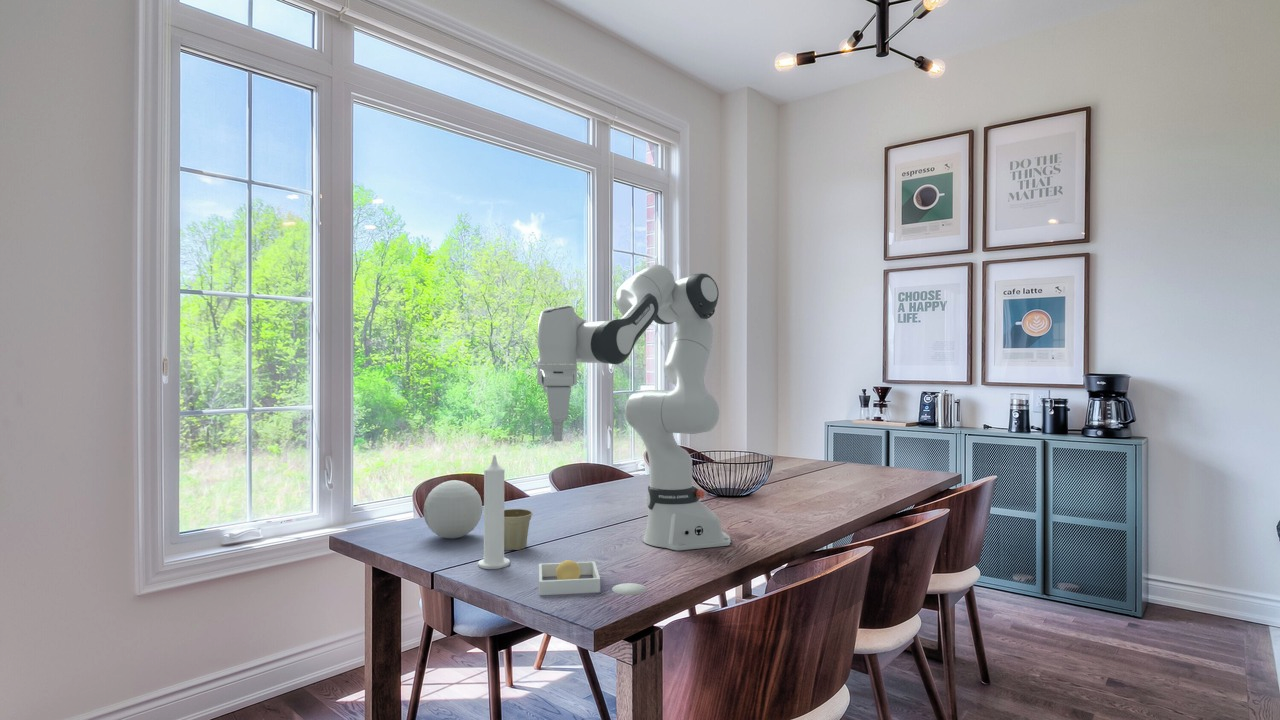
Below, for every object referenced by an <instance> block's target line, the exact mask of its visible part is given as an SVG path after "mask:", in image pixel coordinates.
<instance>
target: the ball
mask: <svg viewBox="0 0 1280 720" xmlns="http://www.w3.org/2000/svg"><path fill="white" fill-rule="evenodd" d="M576 562H577V561H575V560H572V559H565V560H563V561H561V562H559V563H560V564H559V566H558V567H557V570H556V576H555V577H556V580H566V579H580V577H581V575H580V573H581V572H580V567H579V565H578V564H577V563H576Z"/></svg>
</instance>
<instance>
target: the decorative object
mask: <svg viewBox="0 0 1280 720" xmlns="http://www.w3.org/2000/svg"><path fill="white" fill-rule="evenodd" d="M482 513H483V501H482V499H481V495H480V494H479V492H478V491H477V489H475V487H474V486H472V485H471V484H469V483H468V482H465V481H462V480H456V479H454V480H453V479H452V480H447V481H443V482H442V483H439V484H438V485H436V486H435V487H434V488H432V490H430V492H429V493H428V495H427V497H426V498H425V501H424V504H423V518H424V522H425V524H426V526H427V527H428V529H429V530H431V532H432V533H434V534H435V535H437V536H438V537H441V538H444V539H457V538H462V537H464V536H466V535H468V534H469V533H471V532H472V531H473V530H474V529H475V528H476V527H477V525H478V524H479V522H480V520H481V517H482V515H483V514H482Z"/></svg>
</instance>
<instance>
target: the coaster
mask: <svg viewBox="0 0 1280 720" xmlns="http://www.w3.org/2000/svg"><path fill="white" fill-rule="evenodd" d="M611 591H612V592H614V593H615V594H618V595H622V596H623V595H624V596H625V595H626V596H634V595H641V594H643V593H646V592H647V587H646V585H643V584H640V583H635V582H627V583H626V582H623V583H619V584H615V585H614V586H613V587H612V588H611Z"/></svg>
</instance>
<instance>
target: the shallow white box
mask: <svg viewBox="0 0 1280 720" xmlns="http://www.w3.org/2000/svg"><path fill="white" fill-rule="evenodd" d="M575 562H576V563H577V564H578V565H579V567H580V572H581V573H580V576H587V575H588V576H590V575H592V577H591V578H579V579H566V580H558V579H548V580H545V579H544V580H543V578H548V577H557V576H556V570H557V567H558V566H559V564H560V563H561V562H550V563H549V562H547V563H538V592H539V594H538V595H539V596H549V595H551V596H553V595H571V594H572V595H574V594H575V595H576V594H589V593H590V594H591V593H601V576H600V574H599V571H598V567H597V564H596V561H595V560H594V561H593V560H591V561H575Z"/></svg>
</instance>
